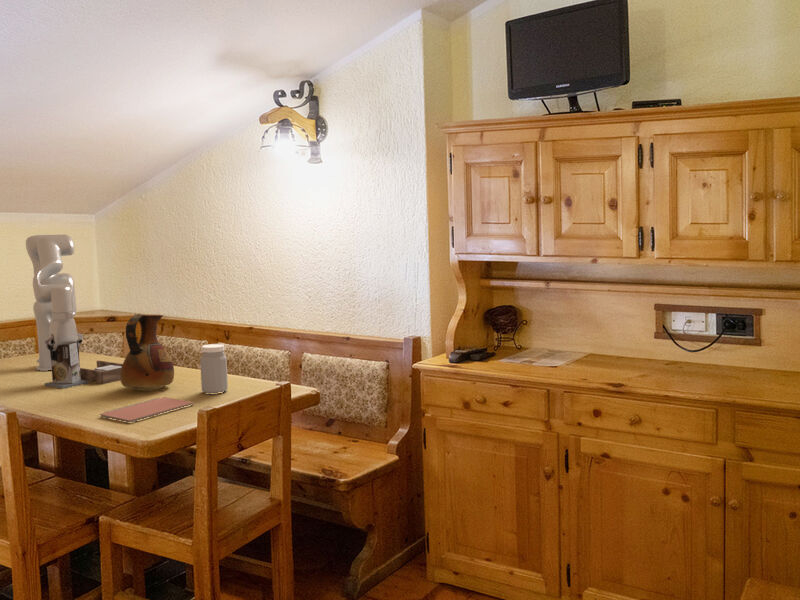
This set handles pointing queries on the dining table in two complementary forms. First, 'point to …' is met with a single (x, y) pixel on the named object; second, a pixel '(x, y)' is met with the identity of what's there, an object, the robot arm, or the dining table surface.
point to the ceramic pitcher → (146, 357)
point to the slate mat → (66, 384)
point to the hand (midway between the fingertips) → (65, 358)
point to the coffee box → (66, 364)
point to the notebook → (145, 409)
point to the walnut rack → (102, 373)
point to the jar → (213, 369)
